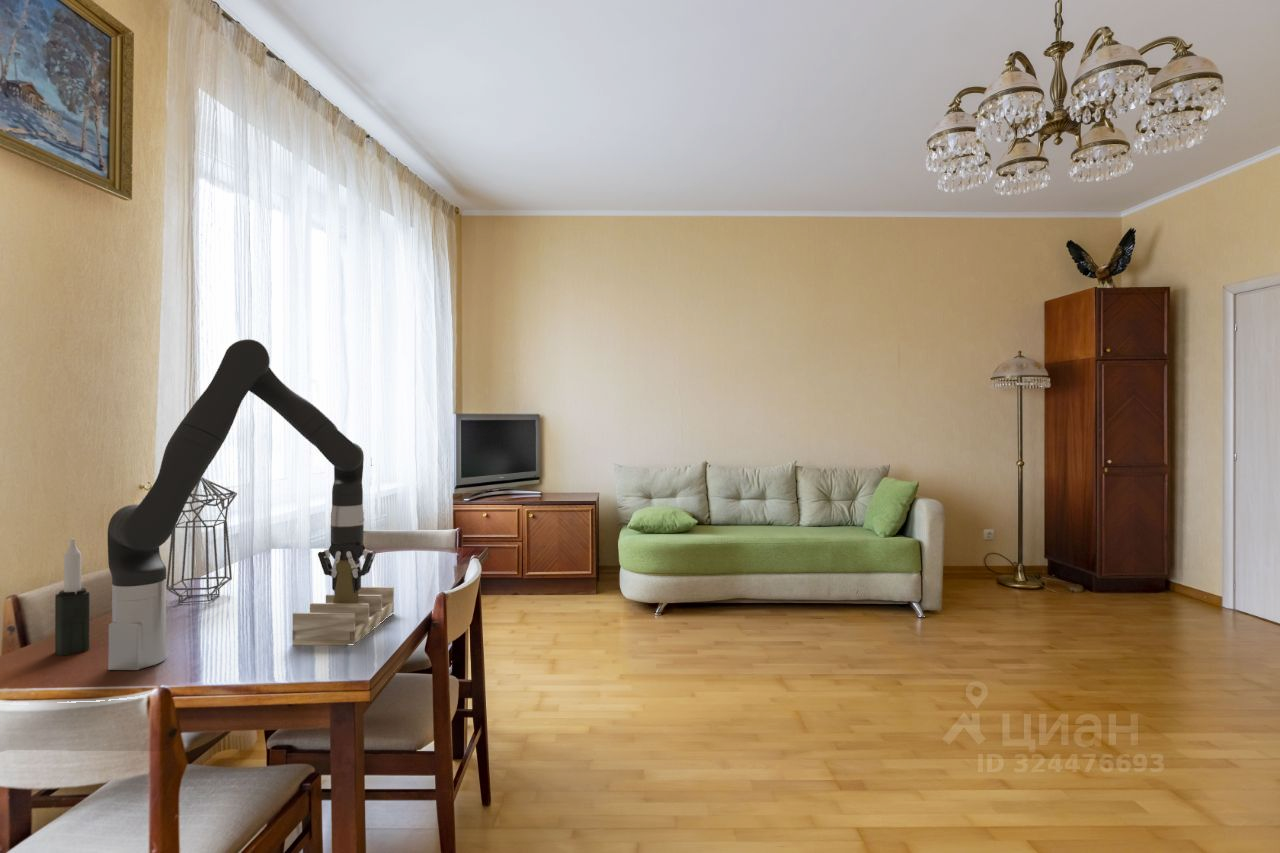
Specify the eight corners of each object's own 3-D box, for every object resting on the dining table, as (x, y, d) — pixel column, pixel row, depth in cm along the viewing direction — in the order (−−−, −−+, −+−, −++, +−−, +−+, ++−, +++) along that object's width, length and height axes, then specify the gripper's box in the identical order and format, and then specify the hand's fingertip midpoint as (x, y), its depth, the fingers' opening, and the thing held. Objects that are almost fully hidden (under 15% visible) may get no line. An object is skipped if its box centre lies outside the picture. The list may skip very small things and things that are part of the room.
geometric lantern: (239, 591, 202) (240, 474, 202) (218, 606, 187) (219, 479, 187) (180, 594, 199) (180, 475, 199) (154, 608, 183) (154, 479, 183)
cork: (349, 606, 164) (350, 561, 164) (327, 605, 166) (327, 560, 166) (364, 600, 170) (364, 556, 170) (342, 599, 171) (343, 555, 171)
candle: (62, 656, 146) (62, 541, 146) (53, 652, 149) (53, 538, 149) (91, 649, 151) (91, 537, 150) (81, 645, 153) (82, 535, 153)
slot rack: (353, 645, 155) (353, 614, 155) (292, 644, 155) (292, 613, 155) (393, 614, 181) (393, 587, 181) (341, 613, 181) (341, 586, 181)
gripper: (311, 524, 164) (310, 595, 164) (369, 525, 164) (369, 596, 164) (325, 520, 171) (325, 588, 172) (381, 521, 172) (381, 588, 172)
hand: (346, 591), depth 168 cm, fingers closed on cork, 4 cm apart
